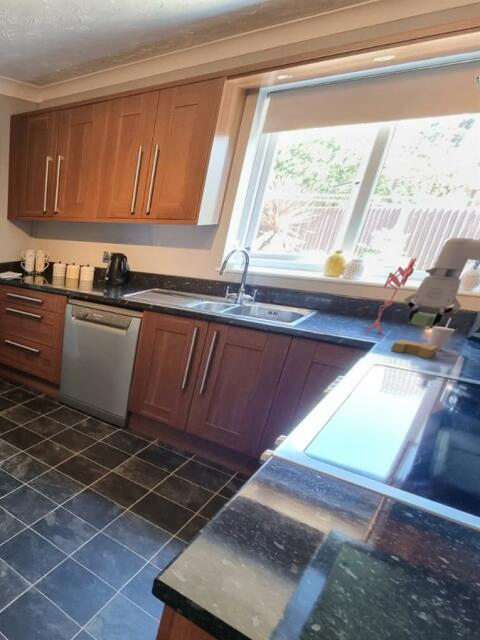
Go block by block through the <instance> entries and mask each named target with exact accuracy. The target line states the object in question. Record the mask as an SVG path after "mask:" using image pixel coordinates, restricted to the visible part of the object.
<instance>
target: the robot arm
mask: <svg viewBox="0 0 480 640" xmlns="http://www.w3.org/2000/svg"><path fill="white" fill-rule="evenodd" d="M468 260H471V261H476V262H480V238H479V239H473V238H465V237H449V238H447V239H446V240H445V241H444V243H442V247H441V249H440V252H439V253H438V256H437V258H436V260H435V262H434V265H433V267H431V268H426V270H425V273H427V274H429V275H425V277H424V278H423V279H422V281H421V282H420V285H419V287H418V288H417V290H416V292H415V293H413V294H411V295H410V296H407V297H405V298H404V299H403V300H404V302H405V303H406V304H407V305H408V307H409V308H410V309H411V312H410V314H409V317H408V319H409V321H410V322H411V320H412V318H413V315H414V314H415V313H418V312H419V309H420V307H421V306H423V305H427V306H434V307H438V308H439V310H438V313H437V314H436V318H435V320H434V322H433V325H432V326H436V325H437V324H440V323H441V320H442V318H443V316H444V315H445V314H447V313H450V312H453V311H456V310H458V309H461V308H462V305H461V303H460V302H459V301H458V299H457V295H458V292H459V290H460V286H461V282H462V279H461V278H460V277H461V275H462V273H463V271H464V269H465V266H466V264H467V263H468ZM452 305H453V306H452ZM450 306H451V307H450ZM446 307H449V308H446Z"/></svg>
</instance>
